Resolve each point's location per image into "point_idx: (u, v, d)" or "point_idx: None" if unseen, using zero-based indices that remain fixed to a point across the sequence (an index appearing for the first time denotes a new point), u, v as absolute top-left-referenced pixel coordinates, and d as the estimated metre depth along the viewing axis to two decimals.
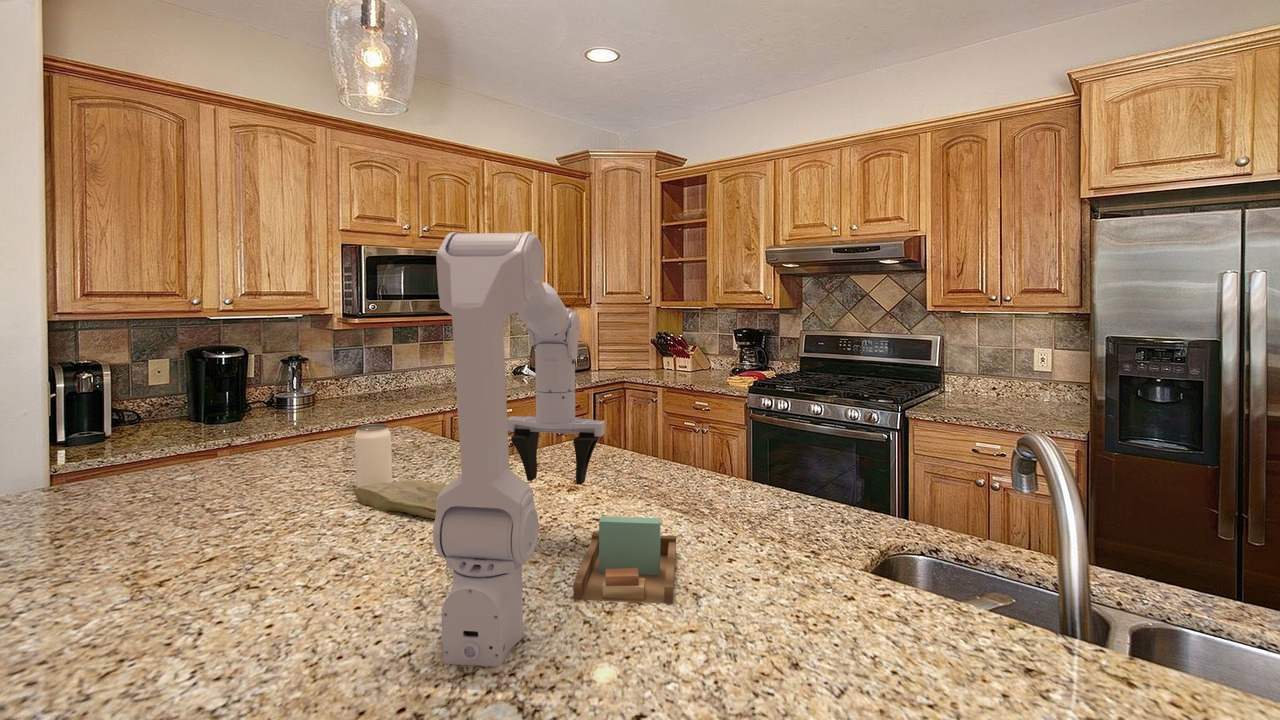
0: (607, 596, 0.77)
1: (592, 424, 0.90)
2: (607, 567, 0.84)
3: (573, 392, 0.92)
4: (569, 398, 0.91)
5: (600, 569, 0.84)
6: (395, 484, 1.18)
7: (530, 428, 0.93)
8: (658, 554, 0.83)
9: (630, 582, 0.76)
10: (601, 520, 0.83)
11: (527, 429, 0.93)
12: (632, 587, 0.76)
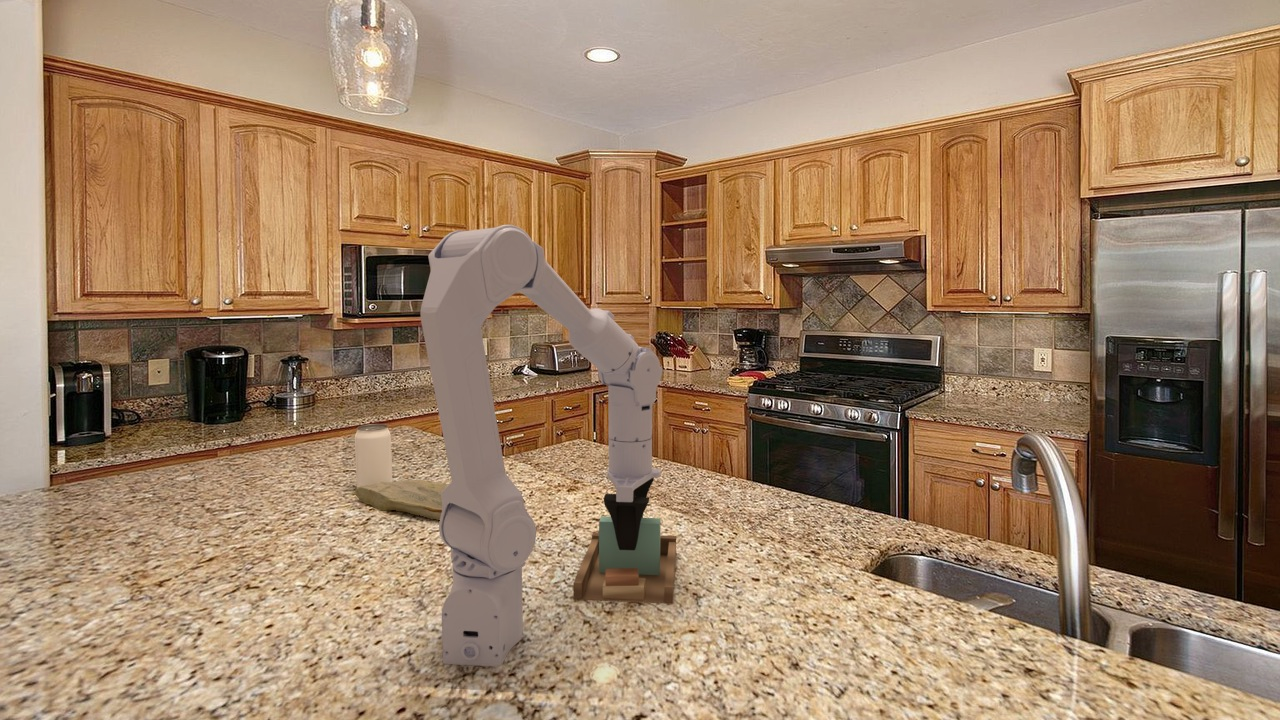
0: (607, 596, 0.77)
1: (616, 484, 0.77)
2: (607, 567, 0.84)
3: (627, 443, 0.80)
4: (619, 448, 0.80)
5: (600, 569, 0.84)
6: (396, 484, 1.18)
7: None
8: (658, 554, 0.83)
9: (630, 582, 0.76)
10: (601, 520, 0.83)
11: None
12: (632, 587, 0.76)
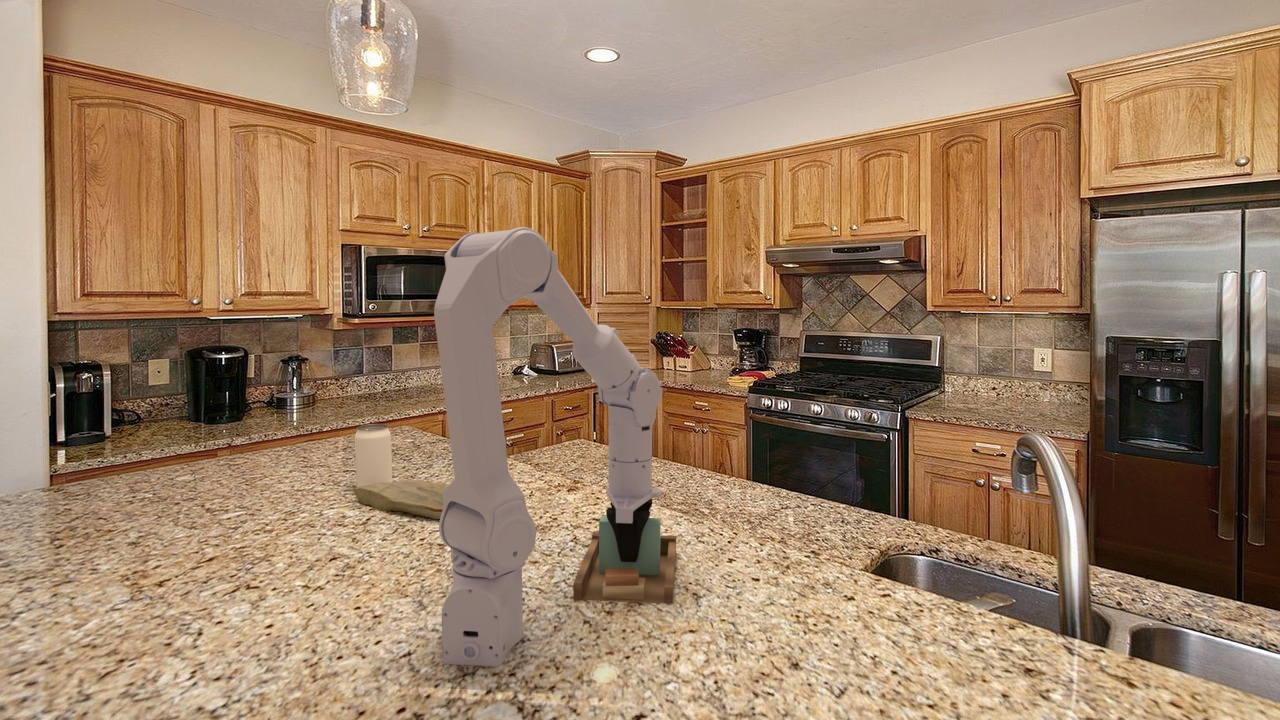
0: (607, 596, 0.77)
1: (616, 505, 0.77)
2: (607, 567, 0.84)
3: (626, 463, 0.80)
4: (619, 469, 0.80)
5: (600, 569, 0.84)
6: (395, 484, 1.18)
7: None
8: (658, 554, 0.83)
9: (630, 582, 0.76)
10: (601, 520, 0.83)
11: None
12: (632, 587, 0.76)
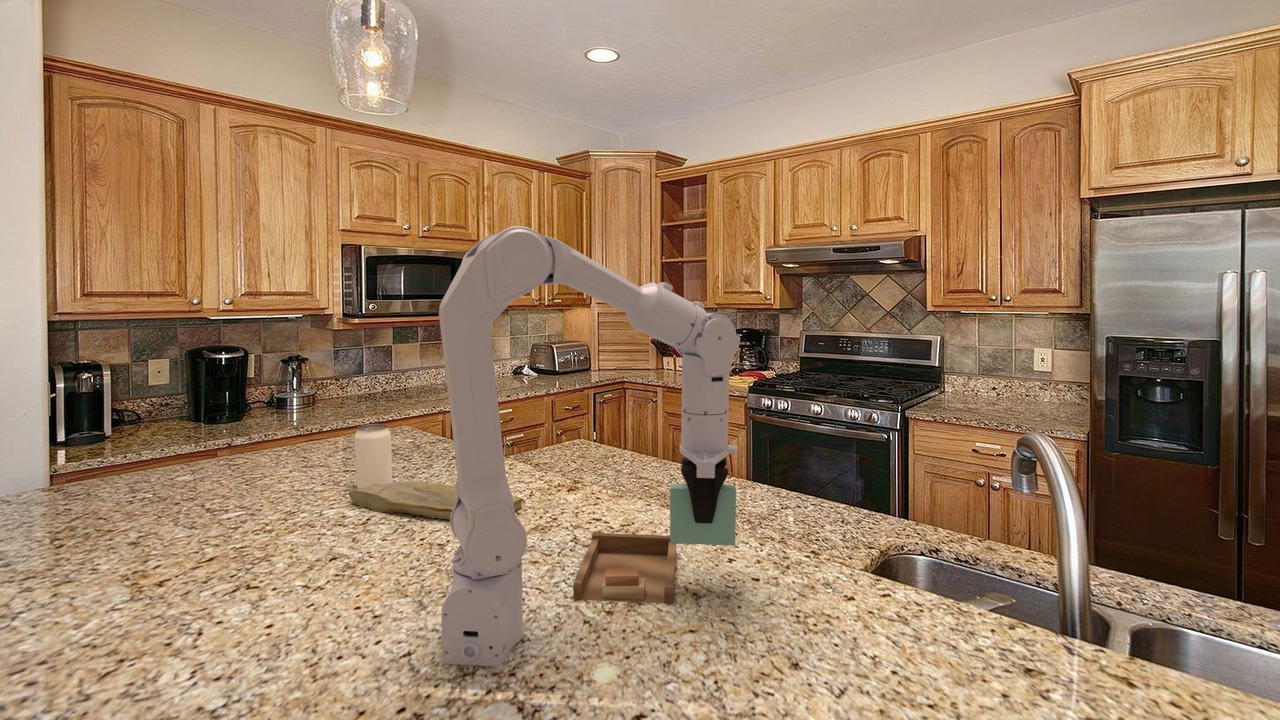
0: (607, 596, 0.77)
1: (695, 459, 0.72)
2: (679, 537, 0.78)
3: (704, 416, 0.74)
4: (695, 422, 0.75)
5: (671, 539, 0.78)
6: (390, 486, 1.17)
7: None
8: (734, 523, 0.77)
9: (630, 582, 0.76)
10: (672, 487, 0.78)
11: None
12: (632, 587, 0.76)
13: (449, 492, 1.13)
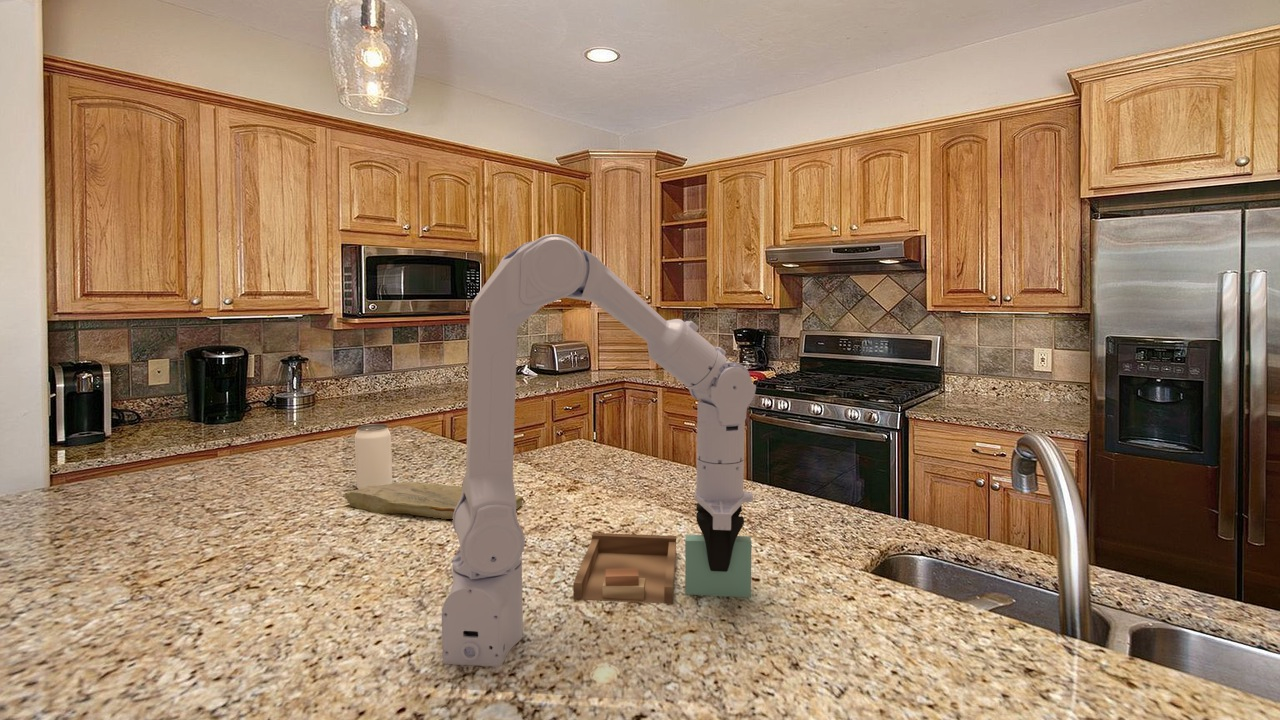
0: (607, 596, 0.77)
1: (711, 510, 0.71)
2: (694, 590, 0.78)
3: (720, 465, 0.74)
4: (710, 471, 0.74)
5: (686, 592, 0.78)
6: (386, 487, 1.16)
7: None
8: (750, 575, 0.77)
9: (630, 582, 0.76)
10: (687, 539, 0.78)
11: None
12: (632, 587, 0.76)
13: (448, 492, 1.13)
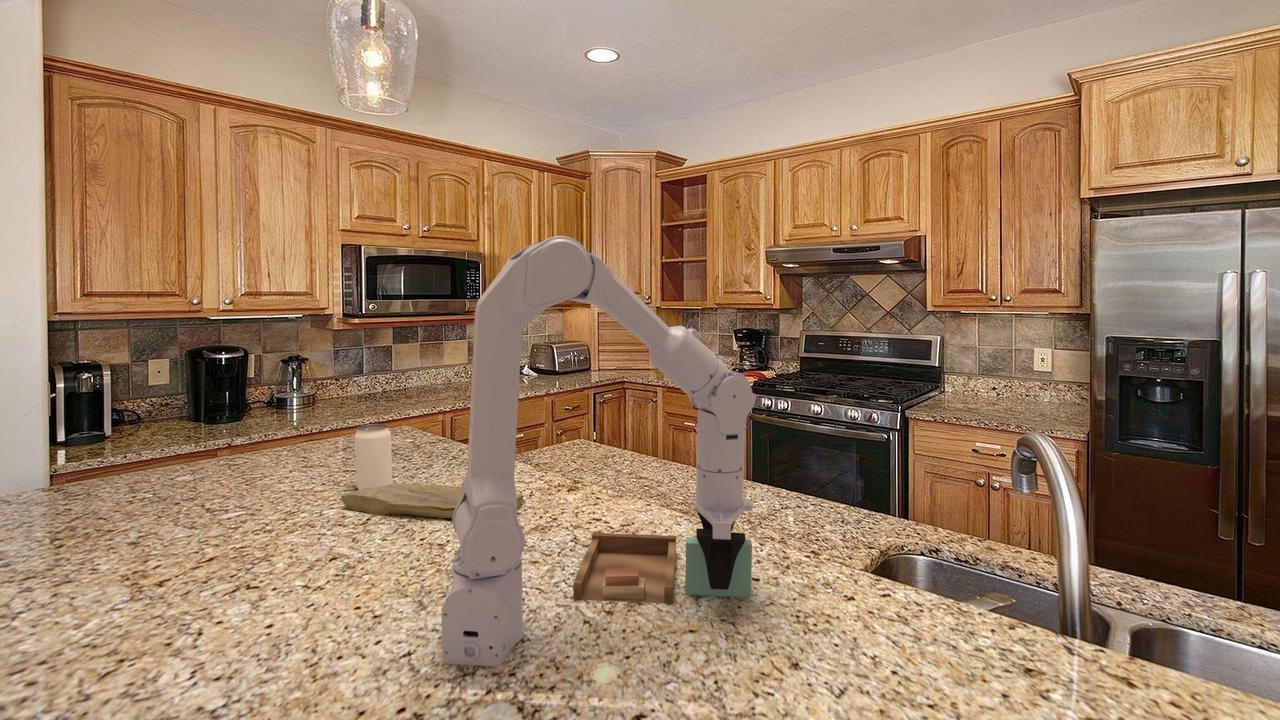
0: (607, 596, 0.77)
1: (711, 519, 0.71)
2: (694, 592, 0.78)
3: (719, 474, 0.74)
4: (710, 479, 0.74)
5: (686, 594, 0.78)
6: (382, 488, 1.15)
7: None
8: (750, 578, 0.77)
9: (630, 582, 0.76)
10: (688, 541, 0.78)
11: None
12: (632, 587, 0.76)
13: (447, 492, 1.13)
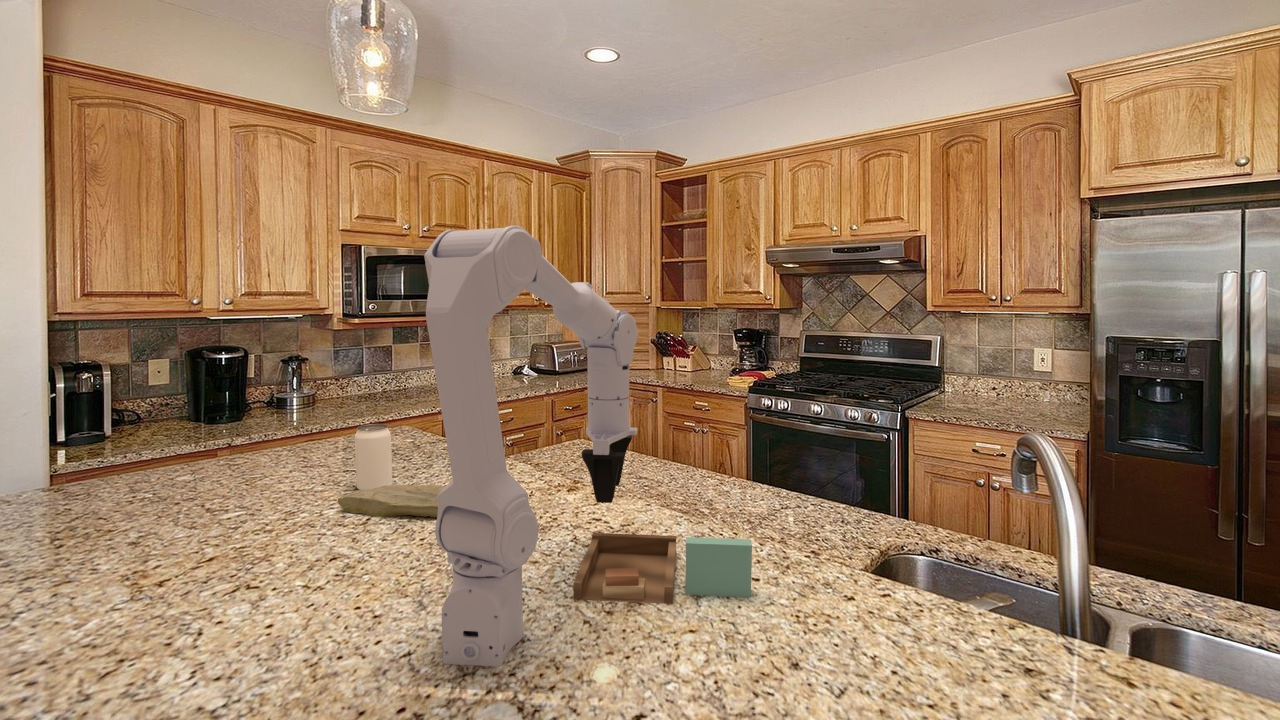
0: (607, 596, 0.77)
1: (593, 439, 0.81)
2: (694, 592, 0.78)
3: (604, 401, 0.84)
4: (597, 406, 0.84)
5: (686, 594, 0.78)
6: (377, 490, 1.14)
7: None
8: (750, 578, 0.77)
9: (630, 582, 0.76)
10: (688, 541, 0.78)
11: None
12: (632, 587, 0.76)
13: None
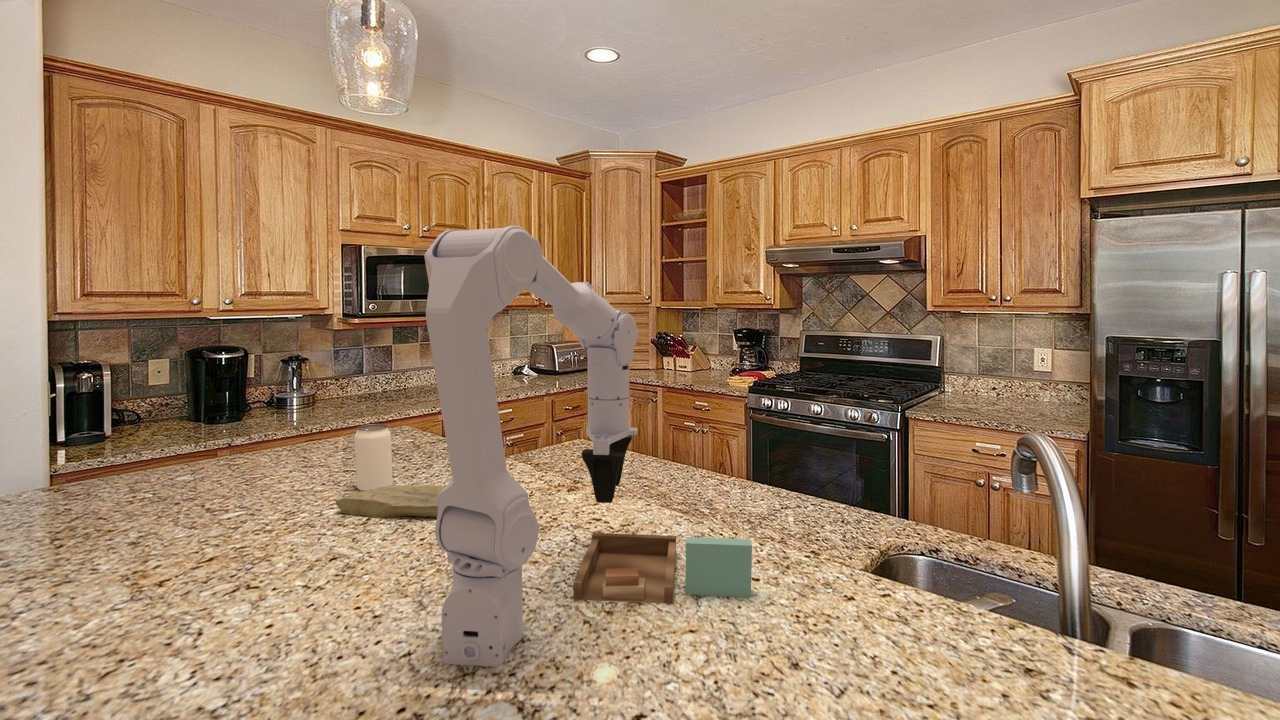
0: (607, 596, 0.77)
1: (593, 439, 0.81)
2: (694, 592, 0.78)
3: (604, 401, 0.84)
4: (597, 406, 0.84)
5: (686, 594, 0.78)
6: (375, 491, 1.13)
7: None
8: (750, 578, 0.77)
9: (630, 582, 0.76)
10: (688, 541, 0.78)
11: None
12: (632, 587, 0.76)
13: None
